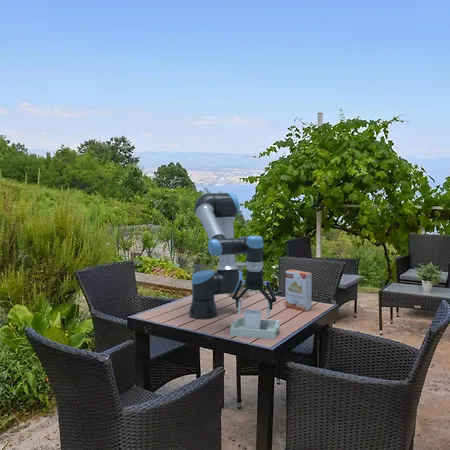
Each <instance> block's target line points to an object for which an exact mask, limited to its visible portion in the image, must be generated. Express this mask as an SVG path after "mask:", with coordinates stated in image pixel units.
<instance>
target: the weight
mask: <svg viewBox="0 0 450 450" xmlns="http://www.w3.org/2000/svg"><path fill="white" fill-rule="evenodd" d="M267 329H268V322H264V321H261V323H260V330H267Z"/></svg>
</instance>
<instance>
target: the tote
mask: <svg viewBox="0 0 450 450" xmlns="http://www.w3.org/2000/svg"><path fill="white" fill-rule="evenodd" d="M261 321H264V322H268V329H267V330H259V329H245V324H244V317H237V318H236V319H235V321H232V323H230V329H229V330H230V331H229V332H230V333H229V334H230V336H231V337H240V338H241V337H242V338H257V339H267V340H269V339H270V340H275V338H276V336H277V334H278V331H279V330H280V328H281V325H280V320H278V319H267V318H266V319H265V318H261Z"/></svg>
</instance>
